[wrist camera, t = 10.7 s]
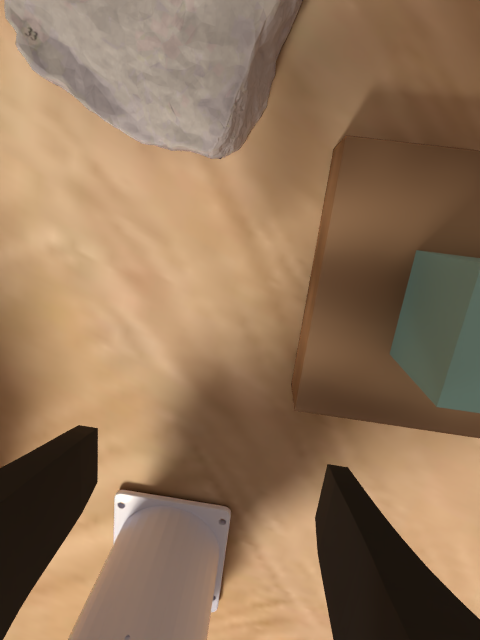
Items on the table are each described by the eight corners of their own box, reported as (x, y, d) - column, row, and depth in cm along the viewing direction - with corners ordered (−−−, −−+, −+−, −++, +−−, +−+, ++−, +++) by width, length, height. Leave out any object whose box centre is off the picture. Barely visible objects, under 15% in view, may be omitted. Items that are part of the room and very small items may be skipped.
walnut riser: (512, 416, 21) (551, 448, 18) (291, 384, 21) (294, 410, 18) (603, 181, 17) (672, 172, 14) (333, 149, 17) (346, 135, 15)
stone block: (244, 177, 20) (329, -50, 15) (225, 185, 16) (334, -127, 11) (54, 92, 20) (81, -163, 15) (-16, 76, 16) (-10, -283, 11)
